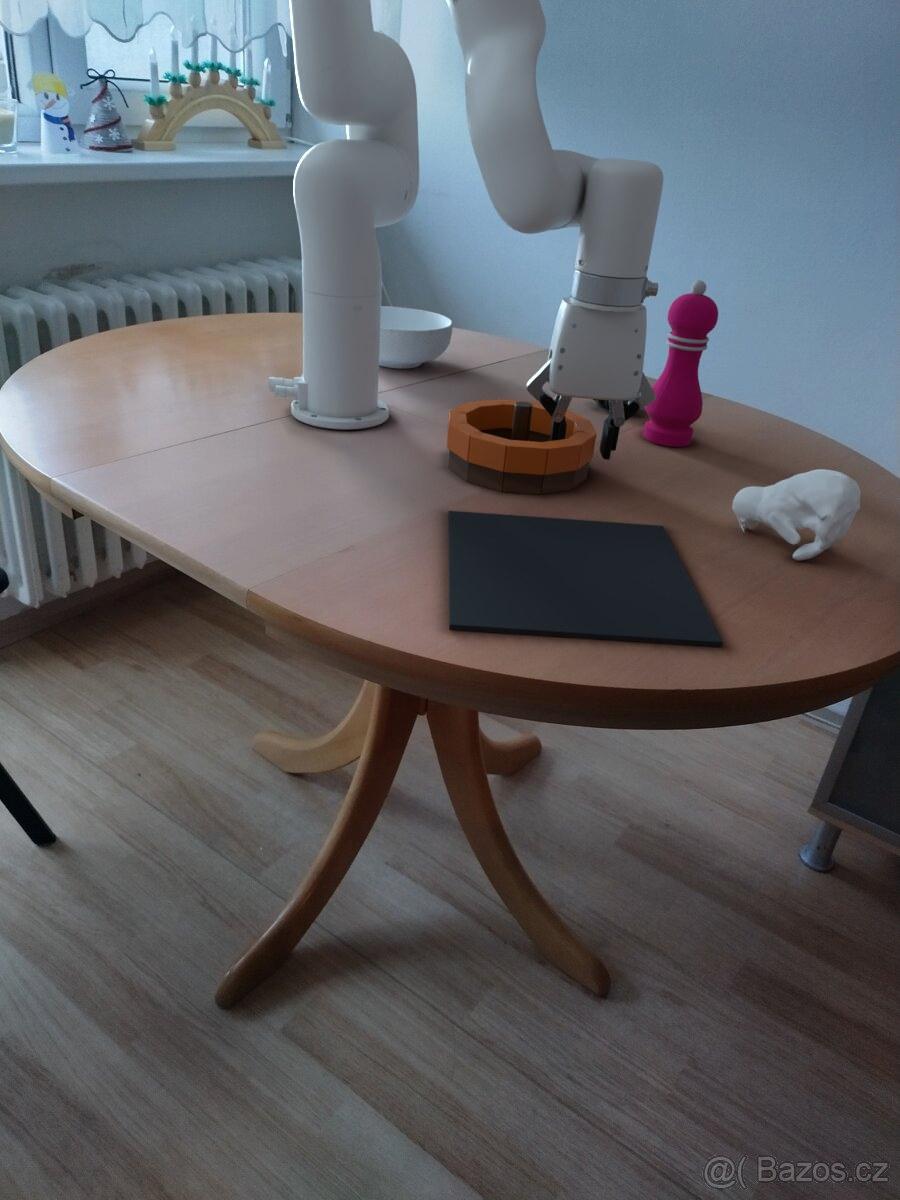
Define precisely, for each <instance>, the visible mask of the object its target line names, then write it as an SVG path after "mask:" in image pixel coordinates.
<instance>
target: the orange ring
mask: <svg viewBox="0 0 900 1200" xmlns="http://www.w3.org/2000/svg"><path fill="white" fill-rule="evenodd" d="M519 401H520V400H518V399H517V400H516V399H503V398H496V399H485V400H475V401H468V402H465V403H462V404H460V405H458V406H456V407H454V408H451V409H450V410H448V418H447V419H448V420H447V432H446V449H447V450H451V451H452V452H454V453H455V454H457V455H458V456H460V457H461V458H463V459H464V460H466V461H467V462H470V463H473V464H477V465H480V466H484V467H488V468H491V469H495V470H498V471H502V472H503V471H504V472H510V473H523V474H537V475H544V474H545V475H548V474H555V473H561V472H568V471H574V470H578V469H579V468H581V467H582V466H583V465H585V464H586V463H587V462H589V463H590V461H592V460H593V457H594V451H595V447H596V439H597V431H596V429H595V427H594V425H593V423H592V421H591V420H589V419H588V418H585V417H583V416H582V415H580V414H578V413H575V412H573V411H572V410H569V409H567V411H566V413H565V420H566V423H567V428H566V434H565V439H563V440H555V441H547V442H532V441H519V440H509V439H505V438H501V437H497V436H494V435H490V434H486V433H482V432H481V431H479V430H487V429H496V428H509V429H512V425H513V417H514V409H515V403H516V402H519ZM523 401H524V402H529V403H531V404H532V405H533V408H532V415H531V423H530V430H531V431H535V432H539V433H543V434H546V435H550V431H551V424H552V417H551V416H550V414H549V413H548V412H547V411H546V409H545V408H544V407H543V406H542V404H541V403H540V402H539V401H532V400H531V401H530V400H523Z"/></svg>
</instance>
